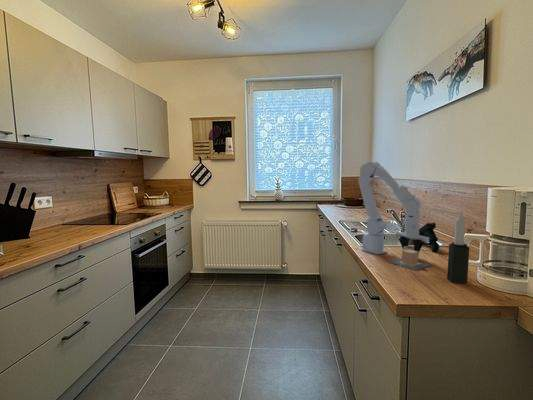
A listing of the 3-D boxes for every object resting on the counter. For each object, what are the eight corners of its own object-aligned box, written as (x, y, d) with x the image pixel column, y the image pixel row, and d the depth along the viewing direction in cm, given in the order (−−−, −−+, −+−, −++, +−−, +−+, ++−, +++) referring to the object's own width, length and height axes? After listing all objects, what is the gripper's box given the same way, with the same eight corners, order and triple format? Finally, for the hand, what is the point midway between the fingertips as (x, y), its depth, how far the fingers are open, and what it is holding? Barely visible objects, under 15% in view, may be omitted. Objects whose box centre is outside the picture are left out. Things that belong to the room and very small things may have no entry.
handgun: (423, 259, 155) (418, 233, 161) (443, 250, 134) (437, 220, 140) (414, 259, 155) (410, 232, 161) (433, 250, 135) (427, 220, 140)
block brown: (401, 262, 120) (402, 250, 120) (407, 260, 123) (408, 249, 122) (412, 265, 117) (412, 253, 116) (418, 263, 119) (418, 251, 118)
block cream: (403, 257, 129) (403, 246, 129) (408, 255, 132) (409, 245, 131) (412, 259, 125) (413, 248, 125) (418, 258, 128) (418, 247, 127)
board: (389, 262, 122) (389, 261, 122) (404, 258, 128) (404, 257, 127) (416, 270, 112) (416, 269, 112) (431, 265, 117) (431, 264, 117)
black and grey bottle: (468, 284, 98) (472, 212, 95) (452, 283, 99) (456, 212, 96) (461, 278, 103) (465, 210, 100) (446, 277, 104) (449, 210, 101)
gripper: (433, 226, 123) (431, 257, 124) (402, 222, 135) (401, 249, 137) (424, 228, 119) (423, 259, 121) (393, 223, 132) (392, 251, 133)
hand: (410, 254), depth 128 cm, fingers closed on block cream, 4 cm apart
